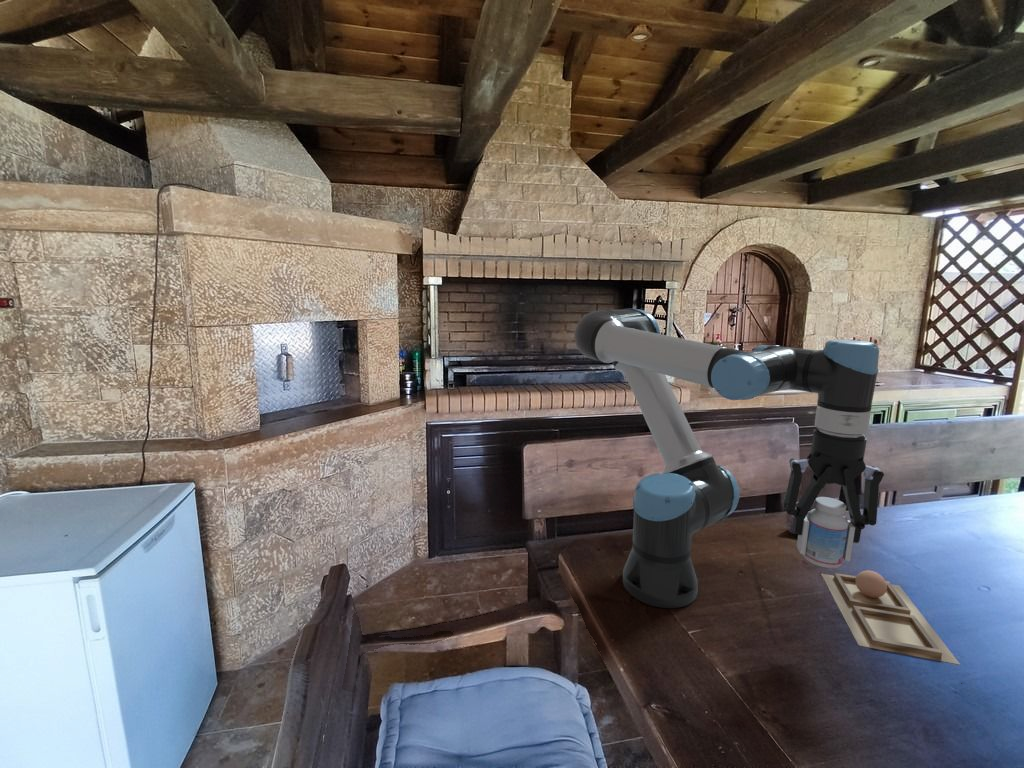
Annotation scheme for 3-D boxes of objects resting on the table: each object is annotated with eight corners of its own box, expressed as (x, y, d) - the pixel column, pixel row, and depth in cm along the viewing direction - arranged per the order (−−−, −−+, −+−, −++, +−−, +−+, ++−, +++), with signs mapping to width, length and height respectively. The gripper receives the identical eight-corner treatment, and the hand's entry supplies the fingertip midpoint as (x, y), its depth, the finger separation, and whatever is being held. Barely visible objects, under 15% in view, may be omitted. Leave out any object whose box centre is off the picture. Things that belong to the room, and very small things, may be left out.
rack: (857, 651, 81) (859, 640, 80) (820, 578, 101) (821, 569, 101) (959, 671, 76) (961, 659, 76) (898, 590, 97) (900, 581, 96)
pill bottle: (847, 571, 81) (859, 512, 79) (809, 566, 82) (819, 508, 80) (831, 552, 87) (842, 496, 85) (796, 548, 88) (805, 493, 86)
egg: (859, 600, 92) (862, 577, 91) (850, 585, 97) (853, 563, 96) (889, 605, 90) (893, 582, 89) (879, 590, 95) (882, 567, 94)
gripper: (781, 432, 79) (767, 555, 84) (919, 443, 73) (895, 575, 78) (772, 420, 86) (759, 534, 91) (897, 430, 80) (877, 552, 85)
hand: (822, 553), depth 84 cm, fingers closed on pill bottle, 6 cm apart
